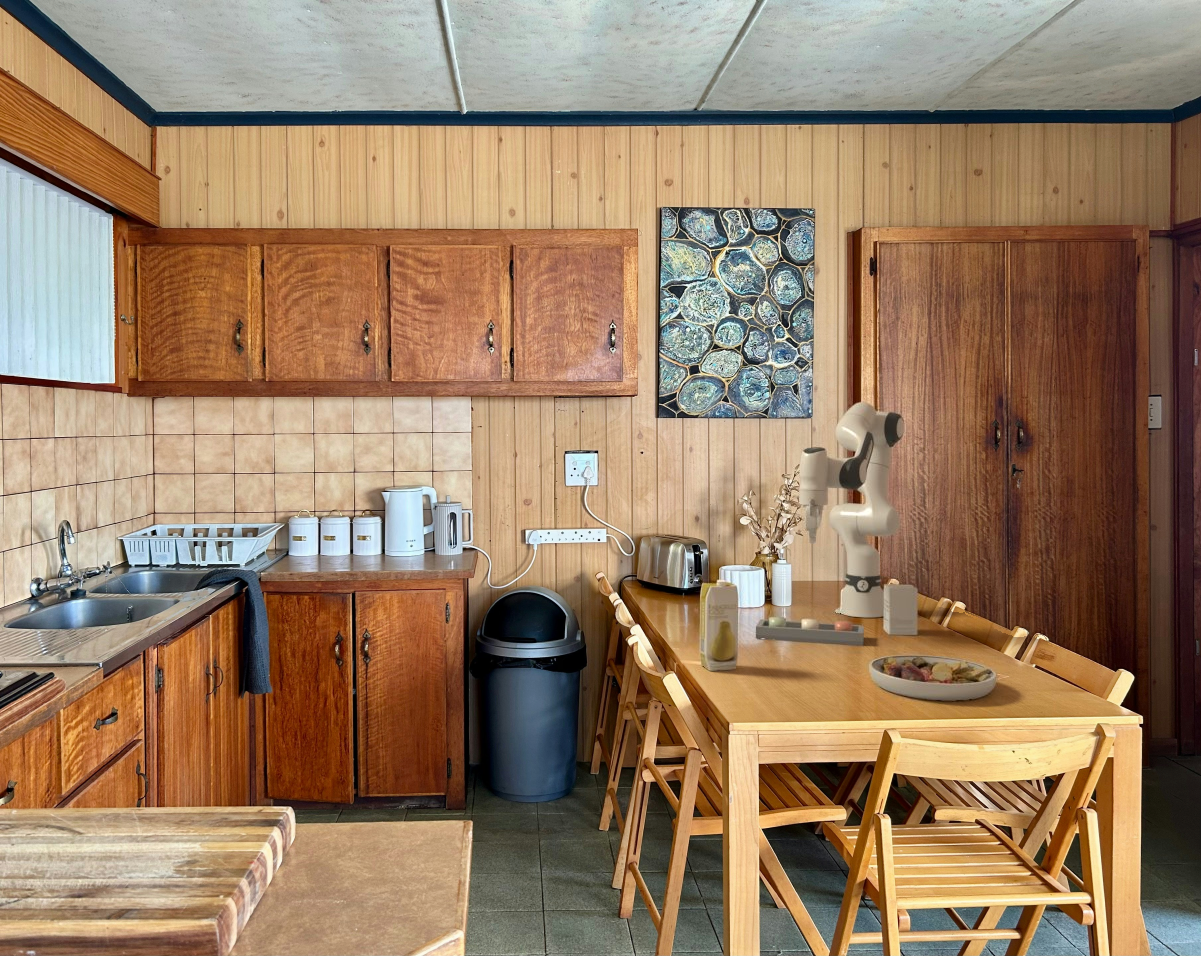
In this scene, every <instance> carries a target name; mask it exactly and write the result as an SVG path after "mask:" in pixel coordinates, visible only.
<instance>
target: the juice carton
mask: <svg viewBox="0 0 1201 956" xmlns="http://www.w3.org/2000/svg"><path fill="white" fill-rule="evenodd" d="M699 596H700V597H699V598H700V599H699V660H700V665H701V667H703V666H704V667H705V668H704V667H703V668H704V669H706V670H707V671H709V672H716V671H717V672H718V670H719V671H730V670H731V671H732V670H733V669H734V670H736V669H737V664H738V654H739V650H738V649H739V647H738V646H739V592H738V586H737V585H736V584H734V583H732V582H728V581H727V580H725V579H716V583H715V582H714V583H709V582H702V584H701V588H700V595H699Z"/></svg>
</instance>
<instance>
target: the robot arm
mask: <svg viewBox="0 0 1201 956" xmlns="http://www.w3.org/2000/svg"><path fill="white" fill-rule="evenodd" d="M904 432H905V420H904V417H903V416H902V415H901V414H900V413H897V412H893V411H890V412H887V411H881V410H878V411H877V410H876V408H875V407H874V405H872V404H871V403H868V402H864V401H860V402H856V403H854V404H853V405H852V406H851V407H850V408H848V409H847V410H846V411H845V413H844V414H843V415H842V417H841V418H840V420H839V421H838V422H837V425H836V427H835V430H834V434H835V435H834V436H835V438H836V441H837V442H838V444H839V445H840V446H841V447H842V448H844V449H846V450H848V451H851V452H855V453H854V456H852V457H847V458H846V457H830V456H828V453H827V449H826V448H825V447H820V446H818V447H817V446H814V447H813V446H812V447H807V448H804V449H803V450H802V451H801V454H800V462H799V471H798V472H799V473H798V474H799V479H800V484H799V488H798V491H799V492H798V504H799V505H802V510H805V512H804V530H805V532H806V531H807V532H808V536H809V539H808V540H809V541H808V542H809V544H815V543H816V542H817V541H816V540H817V532H818V529H819V527H820V526H821V524H822V518H823V511H824V506H828V499H829V495H828V494H829V491H828V490H829V489H845V490H850V491H851V490H852V491H858V492H860V493H861V494H862V495H864V496H865V497H864V498H865V503H849V502H847V503H840V504H836V505H834V506H833V507H832V508H831V510H830V512H829V516H828V521H829V524H830V527H831V528H832V530H833V531H835V533H837V534H838V536H839V537H840V538H841V541H842V542H843V545H844V548H845V551H846V552H845V553H846V573H845V578H844V579H845V586H844V587H842V589H841V591H840V606H839V607H837V608H835V610H834V613H835V612H836V613H835V614H840V613H841V615H844V616H848V617H857V618H881V617H884V589H883V588H882V587H881V585H882V577H881V574H880V569H881V568H880V564H881V562H880V561H881V557H880V556H881V555H880V553H879V551H878V549H877V548H875V547H874V546H873V545H871V544H870V543H869V541H868V539H867V536H871V537H880V538H881V537H889V536H893V535H895V534H896V533H897V532H898V531H899V529H900V527H901V523H902V522H901V521H902V520H901V519H902V518H901V515H900V512H899V511H898V510H897V509H896V508H895V507H894V506H893V504H892V503H891V501H890V498H889V496H888V485H889V477H890V471H891V466H892V465H891V463H892V447H894V446H895V445H896V444H897V443H898V442H900V440H901V439H902V438H903V436H904Z"/></svg>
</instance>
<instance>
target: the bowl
mask: <svg viewBox="0 0 1201 956" xmlns="http://www.w3.org/2000/svg"><path fill="white" fill-rule="evenodd" d="M868 671H869V675H870V677H871V679H872V680H873V682H874V684H876V685H878V686H879V687H880V688H882V689H884V690H886V691H887V692H890V693H893V694H896V695H899V696H904V697H908V698H913V699H918V700H925V699H926V700H927V701H935V700H941V701H940V702H957V701H956V700H964V701H970V700H969V699H972V700H975V699H979V698H982V697H985V696H986V695H988V694H989V693H991V692H992V691H993V690H994V688H995V686H996V685H997V684H996V683H997V677H998V676H997V673H996V672H995V671H994V670H993V669H992V668H990V667H988V666H986V665H983V664H981V663H977V662H975V661H973V662H972V661H969V660H964V659H961V658H953V657H946V656H938V655H926V654H900V655H899V654H898V655H889V656H888V655H887V656H882V657H878V658H875V659H873V660H871V661H870V662H869V664H868Z"/></svg>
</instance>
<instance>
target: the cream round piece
mask: <svg viewBox="0 0 1201 956" xmlns="http://www.w3.org/2000/svg"><path fill="white" fill-rule="evenodd" d="M801 622H802V628H804V629H819V623H820V621H819V620H818V619H817V618H816V619H815V618H803V619H801Z"/></svg>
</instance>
